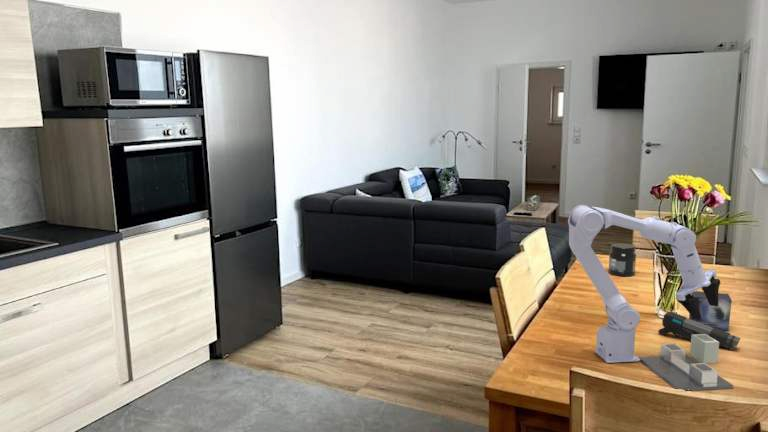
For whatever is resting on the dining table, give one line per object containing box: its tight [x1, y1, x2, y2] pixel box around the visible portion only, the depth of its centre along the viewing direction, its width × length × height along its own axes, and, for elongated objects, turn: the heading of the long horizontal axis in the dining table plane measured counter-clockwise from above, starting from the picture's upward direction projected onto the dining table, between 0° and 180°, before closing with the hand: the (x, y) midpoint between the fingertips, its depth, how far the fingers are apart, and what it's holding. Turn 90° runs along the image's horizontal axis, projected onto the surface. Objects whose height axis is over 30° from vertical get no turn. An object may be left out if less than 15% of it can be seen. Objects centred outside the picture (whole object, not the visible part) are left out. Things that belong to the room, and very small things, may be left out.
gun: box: [658, 311, 741, 351], centre depth 174 cm, size 4×20×10 cm, turn 50°
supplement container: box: [608, 243, 637, 277], centre depth 248 cm, size 10×10×12 cm
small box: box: [688, 290, 732, 333], centre depth 186 cm, size 11×6×10 cm, turn 70°
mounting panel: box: [637, 343, 734, 391], centre depth 153 cm, size 14×19×5 cm
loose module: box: [689, 334, 720, 365], centre depth 162 cm, size 4×6×6 cm, turn 6°
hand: (705, 312), depth 161 cm, fingers open, 7 cm apart
